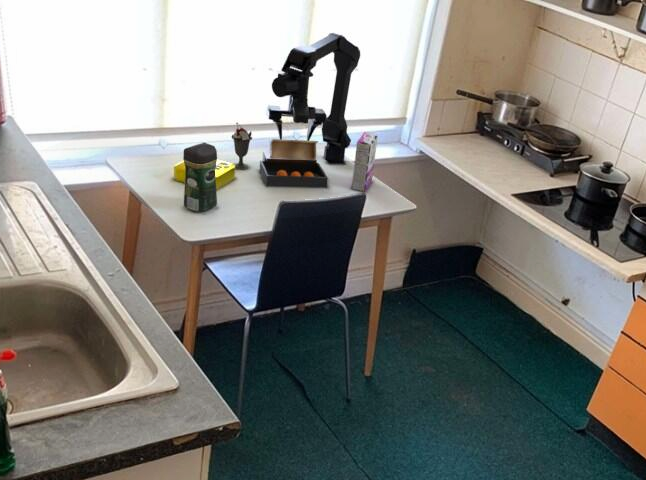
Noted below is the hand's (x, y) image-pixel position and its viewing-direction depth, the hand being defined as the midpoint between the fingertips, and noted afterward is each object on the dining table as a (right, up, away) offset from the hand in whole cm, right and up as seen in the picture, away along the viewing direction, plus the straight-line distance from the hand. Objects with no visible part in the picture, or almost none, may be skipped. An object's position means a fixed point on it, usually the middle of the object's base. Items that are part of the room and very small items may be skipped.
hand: (294, 140), depth 250 cm
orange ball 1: (-4, -11, 0) cm, 12 cm away
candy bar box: (+22, -12, +10) cm, 27 cm away
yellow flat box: (-28, -14, -5) cm, 32 cm away
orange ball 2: (0, -12, +1) cm, 12 cm away
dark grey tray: (-1, -11, +5) cm, 12 cm away
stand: (-3, -7, +10) cm, 13 cm away
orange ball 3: (+4, -11, +3) cm, 12 cm away
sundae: (-19, -7, +7) cm, 21 cm away
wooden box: (-1, -2, +4) cm, 5 cm away
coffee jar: (-25, -27, -23) cm, 44 cm away
